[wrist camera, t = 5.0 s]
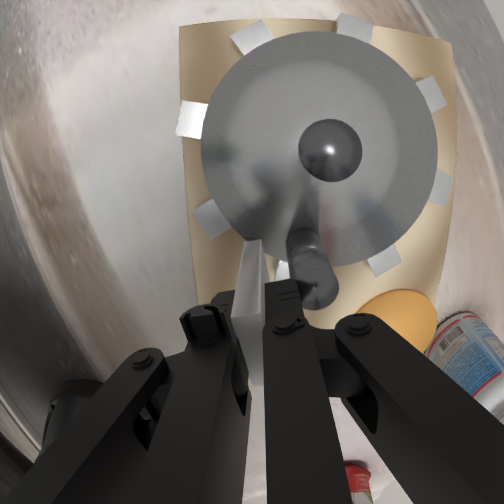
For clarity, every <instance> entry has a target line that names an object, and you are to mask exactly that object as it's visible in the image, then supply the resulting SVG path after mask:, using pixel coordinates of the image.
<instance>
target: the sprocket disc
mask: <svg viewBox="0 0 504 504" xmlns="http://www.w3.org/2000/svg"><path fill="white" fill-rule="evenodd" d="M373 27H374V24H373V23H370V22H367V21H364V20H362V19H359V18H356V17H353V16H350V15H347V14H344V13H340V15H339V16H338V18H337V19H336V23H335V28H334V32H333V33H332V32H323V31H311V32H300V33H293V34H288V35H285V36H282V37H278V38H275V37H274V35H273V34H272V33H271V31H270V30H269V29H268V28H267V26H266V25H265V24H264V22H263V21H262V20H261V19H260V20H258V21H256V22H254V23H252V24H250V25H248V26H247V27H245V28H243V29H241V30H239V31H238V32H236V33H234V34H232V35H231V36H230V38H231V41H232V43H233V44H234V45H235V47H236V48H237V49H238V51H239V52H240V53H241V55H242V56H243V57H242V58H241V59H240V60H239V61H238V62H236V63H235V64H234V65H233V66H232V67H231V69H230V70H229V71H228V72H227V73H226V74H225V76H224V77H223V78H222V80H221V81H220V83H219V84H218V86H217V88H216V89H215V91H214V93H213V95H212V97H211V99H210V102H209V104H203V103H197V102H190V101H182V103H181V108H180V113H179V118H178V123H177V128H176V133H175V135H178V136H185V137H191V138H196V139H201V159H202V166H203V172H204V175H205V179H206V183H207V186H208V188H209V191H210V193H211V195H212V197H211V198H209V199H208V200H206V201H205V202H203V203H202V204H200V205H199V206H197V207H196V208H195V209H194V210H193V211H192V214H193V215H194V216H195V218H196V219H197V221H198V222H199V224H200V225H201V227H202V228H203V229H204V231H205V232H206V234H207V235H208V237H209V238H210V239H211V240H212V239H214V238H216V237H217V236H219V235H221V234H222V233H224V232H225V231H227V230H229V229H230V228H232V227H233V228H234V229H235V230H236V231H237V232H238V233H239V234H240V235H241V236H242V237H243V238H244V239H245V240H246V241H253V240H258V239H261V241H262V246H263V250H264V253H266V254H268V255H270V256H272V257H275V258H277V263H276V267H275V270H274V281H279V280H284V279H289V278H290V279H292V280H293V281H295V282H296V283H297V286H298V290H299V294H300V299H301V303H302V308H304V309H306V310H312V311H315V310H321V309H324V308H326V307H328V306H329V305H331V304H332V303H333V302H334V300H335V299H336V298H337V295H338V293H339V282H338V280H337V277H336V275H335V273H334V270H333V268H332V267H340V266H345V265H350V264H354V263H357V262H360V261H363V260H366V262H367V264H368V266H369V268H370V270H371V271H372V273H373V274H374V276H375V277H378V276H379V275H381V274H383V273H384V272H386V271H388V270H390V269H391V268H393V267H395V266H396V265H398V264H400V263H401V262H402V260H401V258H400V255H399V253H398V250H397V248H396V246H395V242H396V241H397V240H399V239H400V238H401V237H402V236H403V235H404V234H405V233H406V232H407V231H408V230H409V229H410V227H411V226H412V225H413V224H414V223H415V221H416V220H417V218H418V217H419V215H420V214H421V212H422V211H423V209H424V207H425V205H426V203H427V201H430V202H433V203H436V204H438V205H441V206H444V207H445V206H446V203H447V200H448V197H449V193H450V190H451V187H452V183H453V180H454V177H452V176H450V175H448V174H446V173H443V172H441V171H439V170H437V161H438V144H437V136H436V130H435V125H434V122H433V118H432V115H431V113H433V112H435V111H437V110H439V109H441V108H443V107H444V106H446V105H447V103H446V101H445V98H444V96H443V94H442V92H441V90H440V88H439V86H438V85H437V83H436V81H435V79H434V77H433V75H432V76H428V77H425V78H422V79H420V80H418V81H415V82H414V81H413V79H412V78H411V77H410V76H409V74H408V73H407V72H406V71H405V70H404V69H403V68H402V67H401V66H400V65H399V64H398V63H397V62H396V61H395V60H393V59H392V58H391V57H389V56H388V55H387V54H385V53H384V52H383V51H381V50H379V49H378V48H376V47H374V46H372V45H371V44H370V43H371V38H372V32H373Z"/></svg>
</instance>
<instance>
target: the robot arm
mask: <svg viewBox="0 0 504 504" xmlns="http://www.w3.org/2000/svg"><path fill="white" fill-rule="evenodd" d="M179 319H180V322H181V325H182V327H183V330H184V332H185V335H186V337H187V340H188V343H187V346H186V349H185V351H183V352H181V353H178V354H175V355H172V356H169V357H166V358H165V357H164V355H163V353H162V352H161V351H160V350H159V349H156V348H144V349H141V350H138V351H137V352H135V353H133V354H131V355H130V356H129V357H128V358H127V359H126V360H125V361H124V362H123V363H122V364H121V365H120V366H119V368H118V369H117V370H116V371H115V372H114V373H113V374H112V375H111V377H110V378H109V379H108V380H107V381H106V382H105V383H104V384H100V383H97V382H92V381H85V380H73V381H68V382H66V383H64V384H62V385H61V386H60V387H59V389H58V390H57V392H56V393H55V395H54V396H53V398H52V399H51V401H50V404H49V408H48V416H47V420H46V424H45V429H44V435H43V441H42V447H41V451H40V453H39V455H38V457H37V458H36V460H35V462H34V464H33V462H31V461H30V460H29V459H28V458H27V457H26V456H25V455H23V454H22V453H21V452H20V451H19V450H18V449H17V448H16V447H15V446H14V445H13V444H12V443H11V442H10V441H9V440H8V439H7V438H6V437H5V436H4V435H3V434H2V433H1V432H0V504H242V497H243V486H244V476H245V465H246V455H247V444H248V433H249V422H250V411H251V400H252V398H251V393H250V390H249V387H248V379H249V378H250V381H251V384H252V386H261V385H264V404H265V440H266V478H267V504H353V501H352V497H351V492H350V487H349V483H348V478H347V474H346V469H345V465H344V460H343V456H342V451H341V447H340V443H339V439H338V434H337V430H336V426H335V422H334V418H333V414H332V409H331V405H330V401H329V397H339V398H341V401H342V403H343V405H344V406H345V407H346V409H347V410H348V412H349V413H350V415H351V416H352V417H353V419H354V420H355V422H356V423H357V425H358V426H359V427H360V429H361V430H362V432H363V433H364V435H365V436H366V437H367V439H368V440H369V442H370V443H371V444H372V446H373V447H374V449H375V450H376V452H377V453H378V454H379V456H380V457H381V459H382V460H383V461H384V463H385V464H386V466H387V467H388V468H389V470H390V471H391V473H392V474H393V476H394V477H395V478H396V480H397V481H398V482H399V484H400V485H401V487H402V488H403V489H404V491H405V492H406V494H407V495H408V497H409V498H410V499H411V501H412V502H413V503H414V504H504V425H503V424H502V423H501V422H500V421H499V420H498V419H497V418H496V417H495V416H493V415H492V414H491V413H490V412H489V411H488V410H487V409H486V408H485V407H483V406H482V405H481V404H480V403H479V402H478V401H477V400H476V399H474V398H473V397H472V396H471V395H470V394H469V393H468V392H466V391H465V390H464V389H463V388H462V387H461V386H460V385H458V384H457V383H456V382H455V381H454V380H453V379H452V378H450V377H449V376H448V375H447V374H446V373H445V372H443V371H442V370H441V369H440V368H439V367H438V366H436V365H435V364H434V363H433V362H432V361H431V360H429V359H428V358H427V357H426V356H425V355H423V354H422V353H421V352H420V351H419V350H418V349H416V348H415V347H414V346H413V345H412V344H410V343H409V342H408V341H407V340H406V339H404V338H403V337H402V336H401V335H400V334H399V333H397V332H396V331H395V330H394V329H392V328H391V327H390V326H389V325H388V324H386V323H385V322H384V321H383V320H382V319H380V318H379V317H377V316H375V315H373V314H368V313H355V314H351V315H347V316H345V317H344V318H342V319H340V320H339V321H338V322H337V324H336V325H335V329H320V328H316V327H313V326H311V325H310V324H309V322H308V320H307V319H306V318H305V316H304V312H303V308H302V303H301V299H300V294H299V290H298V286H297V283H296V282H295V281H293V280H292V279H290V278H289V279H284V280H279V281H274V282H270V277H269V273H268V268H267V264H266V259H265V255H264V250H263V246H262V241H261V239H258V240H253V241H248V242H244V246H243V251H242V257H241V262H240V268H239V273H238V279H237V284H236V289H235V290H230V291H224V292H218V293H217V294H216V295H215V296H214V297H213V298H212V299H211V302H210V304H203V305H199V306H196V307H193V308H191V309H189V310H187V311H186V312H185V313H183V314H182V316H181V317H180V318H179Z"/></svg>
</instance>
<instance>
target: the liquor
mask: <svg viewBox="0 0 504 504" xmlns="http://www.w3.org/2000/svg"><path fill="white" fill-rule="evenodd" d="M345 469H346V474H347V478H348V483H349V487H350V492H351V497H352V501H353V504H373V500H372V496H371V491H370V487H369V482H368V481H369V479H370V476H371V473H370V472H369V471H368V470H366V469H363V468H361V467H359V466H356V465H353V464H345Z"/></svg>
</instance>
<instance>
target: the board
mask: <svg viewBox="0 0 504 504" xmlns="http://www.w3.org/2000/svg"><path fill="white" fill-rule="evenodd" d="M258 20H260V19H244V20H230V21H219V22H209V23H201V24H193V25H187V26H180V27H179V58H180V98H181V103H182V101H190V102H197V103H203V104H209V102H210V99H211V97H212V95H213V93H214V91H215V89H216V88H217V86H218V84H219V83H220V81H221V80H222V78H223V77H224V76H225V74H226V73H227V72H228V71H229V70H230V69H231V67H232V66H233V65H234V64H235V63H236V62H238V61H239V60H240V59H241V58H242V57H243V56H242V55H241V53H240V52H239V51H238V49H237V48H236V47H235V45H234V44H233V43H232V41H231V38H230V36H231V35H232V34H234V33H236V32H238V31H239V30H241V29H243V28H245V27H247V26H248V25H250V24H252V23H254V22H256V21H258ZM261 20H262V21H263V22H264V24H265V25H266V26H267V28H268V29H269V30H270V31H271V33H272V34H273V35H274V37H275V38H278V37H282V36H285V35H288V34H293V33H300V32H311V31H323V32H332V33H333V32H334V28H335V23H336V21H330V20H316V19H286V18H274V19H261ZM370 44H371V45H372V46H374V47H376V48H378V49H379V50H381V51H383V52H384V53H385V54H387V55H388V56H389V57H391V58H392V59H393V60H395V61H396V62H397V63H398V64H399V65H400V66H401V67H402V68H403V69H404V70H405V71H406V72H407V73H408V74H409V76H410V77H411V78H412V79H413V81H414V82H415V81H418V80H420V79H422V78H425V77H428V76H432V75H433V77H434V79H435V81H436V83H437V85H438V86H439V88H440V90H441V92H442V94H443V96H444V98H445V101H446V103H447V105H446V106H444V107H443V108H441V109H439V110H437V111H435V112H433V113H431V115H432V118H433V122H434V125H435V130H436V136H437V144H438V161H437V170H439V171H441V172H443V173H446V174H448V175H450V176H452V177H454V180H453V183H452V187H451V190H450V193H449V197H448V200H447V203H446V206H445V207H444V206H441V205H438V204H436V203H433V202H430V201H427V203H426V205H425V207H424V209H423V211H422V212H421V214H420V215H419V217H418V218H417V220H416V221H415V223H414V224H413V225H412V226H411V227H410V229H409V230H408V231H407V232H406V233H405V234H404V235H403V236H402V237H401V238H400V239H399V240H397V241H396V242H395V246H396V248H397V250H398V253H399V255H400V258H401V260H402V262H401V263H400V264H398V265H396V266H395V267H393V268H391V269H390V270H388V271H386V272H384V273H383V274H381V275H379V276H378V277H375V276H374V274H373V273H372V271H371V270H370V268H369V266H368V264H367V262H366V260H363V261H360V262H357V263H354V264H350V265H345V266H340V267H332V268H333V270H334V273H335V275H336V277H337V280H338V282H339V293H338V295H337V298H336V299H335V300H334V302H333V303H332V304H331V305H329V306H328V307H326V308H324V309H321V310H315V311H312V310H306V309H304V308H303V312H304V316H305V318H306V319H307V320H308V322H309V324H310V325H311V326H313V327H316V328H320V329H335V325H336V324H337V322H338V321H339V320H340V319H342V318H344V317H345V316H347V315H351V314H355V313H356V312H357V311H358V310H359V309H360V308H361V307H362V306H363V305H364V304H366V303H367V302H368V301H369V300H371V299H373V298H374V297H376V296H378V295H380V294H382V293H385V292H388V291H391V290H396V289H410V290H415V291H418V292H420V293H422V294H423V295H425V296H426V297H427V298H428V299H429V300H430V302H431V303H432V304H433V306H434V305H435V301H436V296H437V292H438V288H439V283H440V279H441V274H442V269H443V264H444V259H445V253H446V248H447V242H448V235H449V228H450V221H451V213H452V205H453V195H454V184H455V169H456V146H457V111H456V89H455V75H454V64H453V55H452V47H451V43H449V42H446V41H442V40H439V39H435V38H431V37H427V36H423V35H419V34H415V33H411V32H406V31H401V30H396V29H391V28H385V27H379V26H374V27H373V32H372V38H371V43H370ZM182 140H183V156H184V171H185V184H186V197H187V208H188V219H189V229H190V239H191V249H192V258H193V266H194V275H195V283H196V291H197V299H198V306H199V305H203V304H210V302H211V299H212V298H213V297H214V296H215V295H216V294H217V293H218V292H224V291H230V290H235V289H236V284H237V279H238V273H239V268H240V262H241V257H242V251H243V246H244V242H248V241H246V240H245V239H244V238H243V237H242V236H241V235H240V234H239V233H238V232H237V231H236V230H235V229H234V228H233V227H232V228H230V229H229V230H227V231H225V232H224V233H222V234H221V235H219V236H217V237H216V238H214V239H212V240H211V239H210V238H209V237H208V235H207V234H206V232H205V231H204V229H203V228H202V227H201V225H200V224H199V222H198V221H197V219H196V218H195V216H194V215H193V214H192V211H193V210H194V209H195V208H196V207H197V206H199V205H200V204H202V203H203V202H205V201H206V200H208V199H209V198H211V197H212V195H211V193H210V191H209V188H208V186H207V183H206V179H205V175H204V172H203V166H202V159H201V139H196V138H191V137H185V136H182ZM264 255H265V259H266V264H267V268H268V273H269V277H270V282H274V270H275V267H276V263H277V258H275V257H272V256H270V255H268V254H266V253H264ZM248 386H252V384H251V381H250V378H249V379H248ZM261 386H264V385H261Z"/></svg>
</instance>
